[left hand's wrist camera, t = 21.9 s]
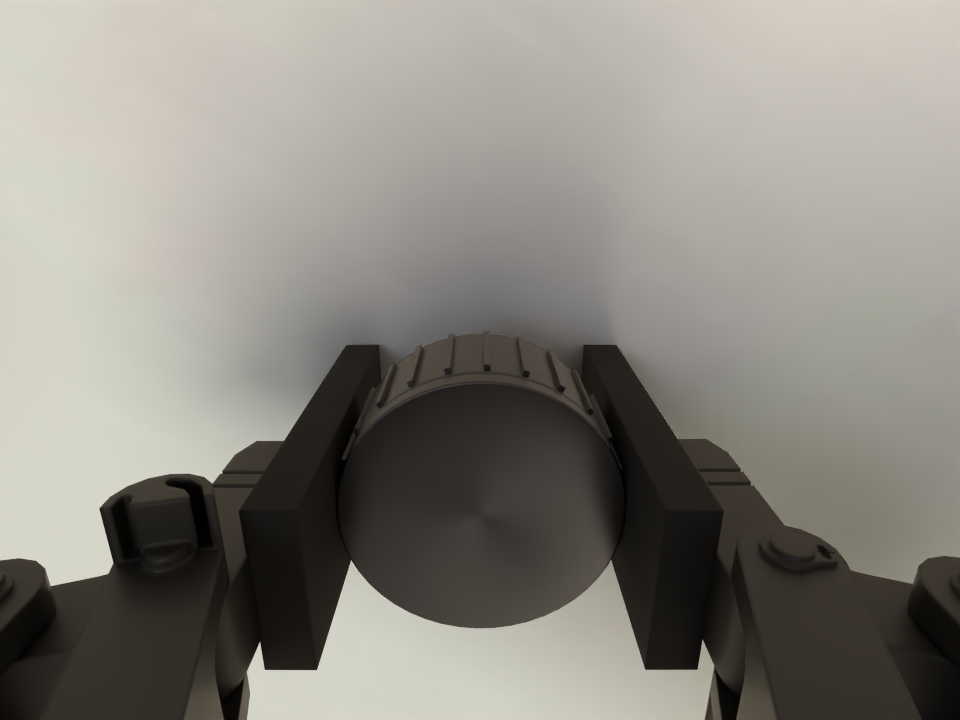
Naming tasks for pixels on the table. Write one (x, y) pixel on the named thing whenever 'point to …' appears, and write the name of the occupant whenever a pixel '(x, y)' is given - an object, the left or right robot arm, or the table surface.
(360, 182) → the table surface
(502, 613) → the lid
